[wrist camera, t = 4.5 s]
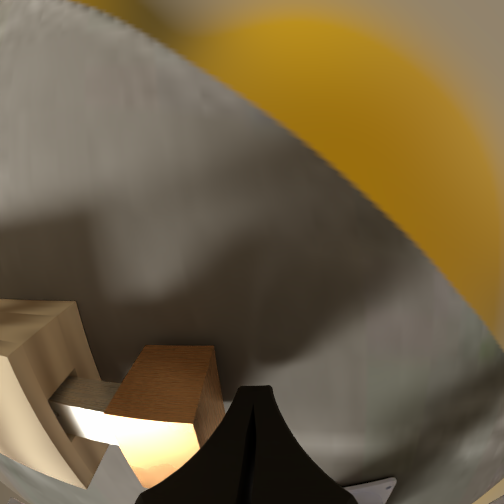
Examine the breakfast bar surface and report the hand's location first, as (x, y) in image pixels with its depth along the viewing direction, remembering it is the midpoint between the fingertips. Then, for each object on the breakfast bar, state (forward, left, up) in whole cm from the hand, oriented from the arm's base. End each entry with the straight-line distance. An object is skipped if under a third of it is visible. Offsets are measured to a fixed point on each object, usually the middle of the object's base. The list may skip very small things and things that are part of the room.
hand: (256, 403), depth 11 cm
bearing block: (0, +13, -2) cm, 13 cm away
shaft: (0, +10, -1) cm, 10 cm away
